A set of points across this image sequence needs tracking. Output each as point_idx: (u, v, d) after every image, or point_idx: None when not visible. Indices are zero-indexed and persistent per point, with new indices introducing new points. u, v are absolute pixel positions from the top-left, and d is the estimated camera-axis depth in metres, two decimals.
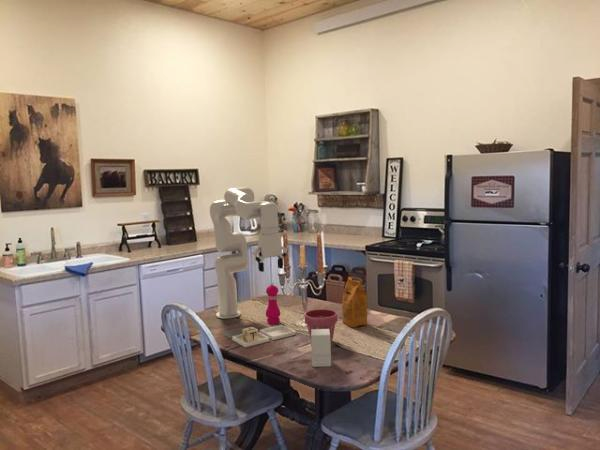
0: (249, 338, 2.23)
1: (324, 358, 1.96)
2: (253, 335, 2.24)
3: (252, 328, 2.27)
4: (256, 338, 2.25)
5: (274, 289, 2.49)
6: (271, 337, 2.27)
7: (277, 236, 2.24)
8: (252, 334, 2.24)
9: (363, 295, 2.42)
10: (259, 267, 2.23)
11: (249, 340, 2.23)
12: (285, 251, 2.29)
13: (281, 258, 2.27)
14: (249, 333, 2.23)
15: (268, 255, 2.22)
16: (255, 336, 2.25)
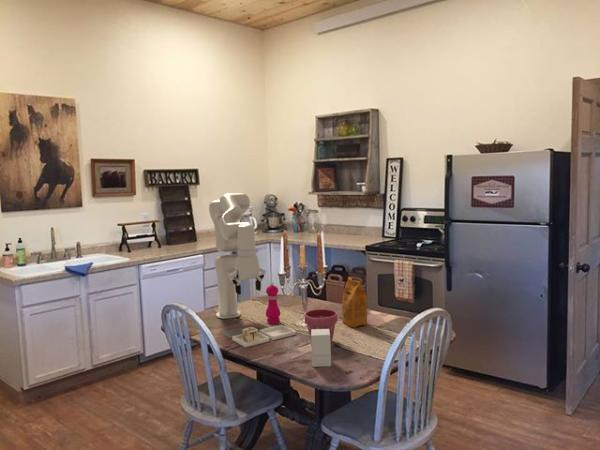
0: (249, 338, 2.23)
1: (324, 358, 1.96)
2: (253, 335, 2.24)
3: (252, 328, 2.27)
4: (256, 338, 2.25)
5: (274, 289, 2.49)
6: (271, 337, 2.27)
7: (254, 258, 2.22)
8: (252, 334, 2.24)
9: (363, 295, 2.42)
10: (236, 290, 2.21)
11: (249, 340, 2.23)
12: (263, 273, 2.27)
13: (259, 280, 2.25)
14: (249, 333, 2.23)
15: (245, 278, 2.20)
16: (255, 336, 2.25)
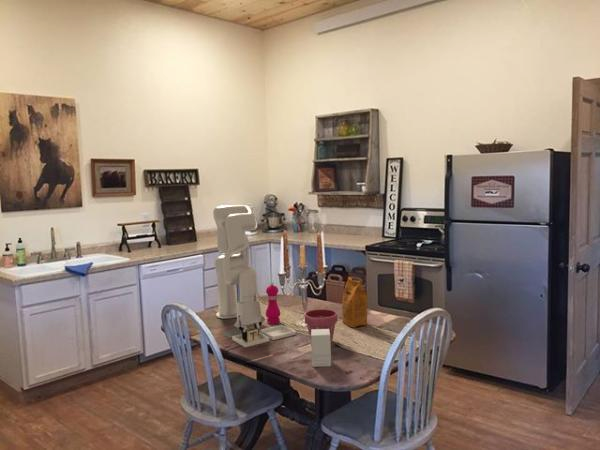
0: (249, 338, 2.23)
1: (324, 358, 1.96)
2: (253, 335, 2.24)
3: (252, 328, 2.27)
4: (256, 338, 2.25)
5: (274, 289, 2.49)
6: (271, 337, 2.27)
7: (256, 303, 2.24)
8: (252, 334, 2.24)
9: (363, 295, 2.42)
10: (242, 336, 2.24)
11: (249, 340, 2.23)
12: (262, 321, 2.28)
13: (257, 327, 2.26)
14: (249, 333, 2.23)
15: (247, 323, 2.23)
16: (255, 336, 2.25)
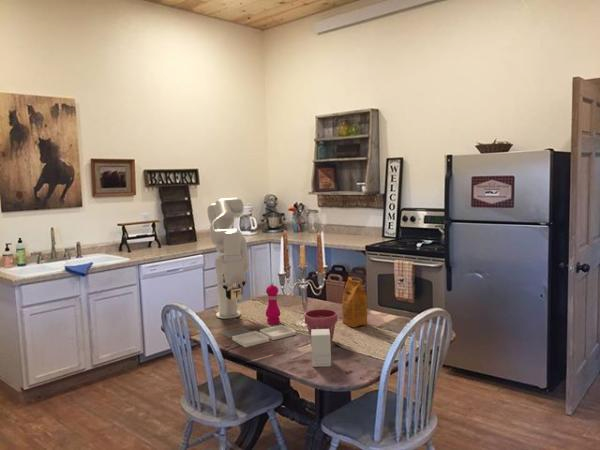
0: (233, 296, 2.33)
1: (324, 358, 1.96)
2: (236, 293, 2.34)
3: (236, 287, 2.37)
4: (239, 296, 2.35)
5: (274, 289, 2.49)
6: (271, 337, 2.27)
7: (240, 263, 2.34)
8: (236, 292, 2.34)
9: (363, 295, 2.42)
10: (226, 294, 2.34)
11: (233, 298, 2.33)
12: (245, 280, 2.38)
13: (240, 286, 2.36)
14: (232, 291, 2.33)
15: (231, 282, 2.32)
16: (238, 294, 2.34)
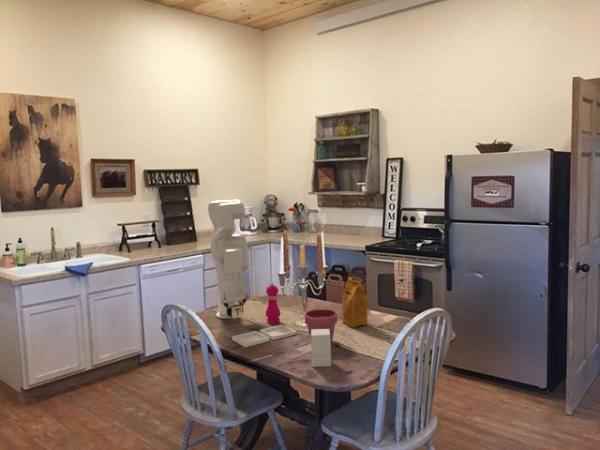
0: (234, 314, 2.34)
1: (324, 358, 1.96)
2: (237, 311, 2.34)
3: (237, 305, 2.37)
4: (240, 314, 2.36)
5: (274, 289, 2.49)
6: (271, 337, 2.27)
7: (240, 281, 2.35)
8: (237, 310, 2.34)
9: (363, 295, 2.42)
10: (227, 312, 2.35)
11: (234, 316, 2.34)
12: (246, 298, 2.39)
13: (241, 304, 2.37)
14: (233, 309, 2.33)
15: (232, 299, 2.33)
16: (239, 312, 2.35)
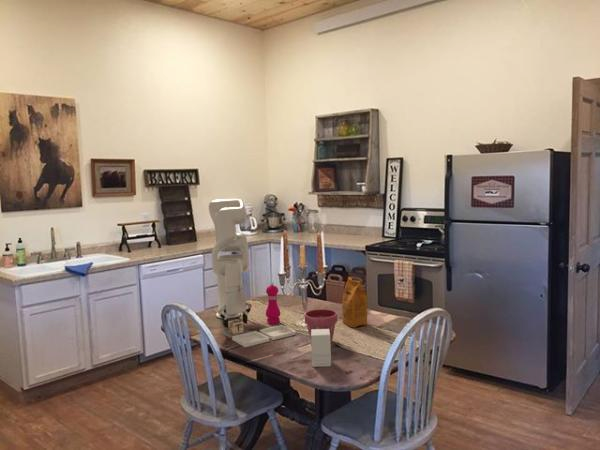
0: (234, 330, 2.35)
1: (324, 358, 1.96)
2: (238, 326, 2.36)
3: (237, 320, 2.39)
4: (241, 330, 2.37)
5: (274, 289, 2.49)
6: (271, 337, 2.27)
7: (241, 294, 2.35)
8: (237, 326, 2.35)
9: (363, 295, 2.42)
10: (224, 323, 2.34)
11: (234, 332, 2.35)
12: (249, 307, 2.41)
13: (245, 314, 2.39)
14: (234, 325, 2.35)
15: (232, 312, 2.34)
16: (240, 328, 2.36)
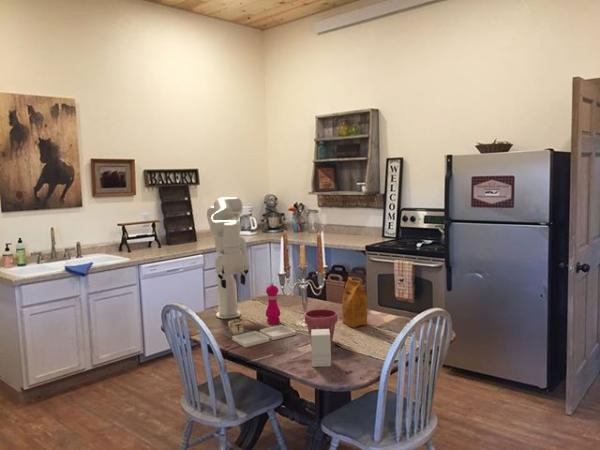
0: (234, 330, 2.35)
1: (324, 358, 1.96)
2: (238, 326, 2.36)
3: (237, 320, 2.39)
4: (241, 330, 2.37)
5: (274, 289, 2.49)
6: (271, 337, 2.27)
7: (239, 254, 2.36)
8: (237, 326, 2.35)
9: (363, 295, 2.42)
10: (222, 284, 2.35)
11: (234, 332, 2.35)
12: (247, 268, 2.41)
13: (243, 275, 2.39)
14: (234, 325, 2.35)
15: (230, 273, 2.34)
16: (240, 328, 2.36)
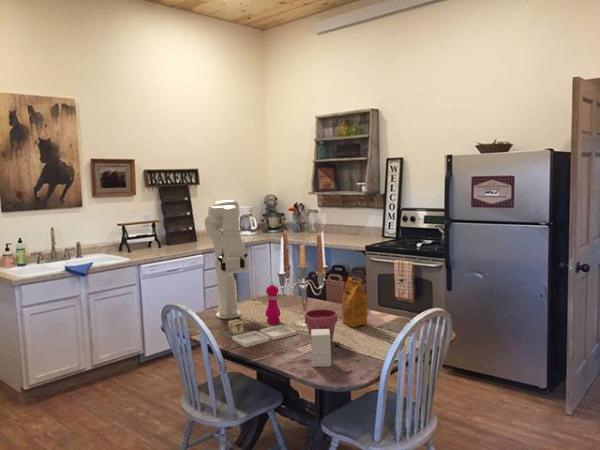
0: (234, 330, 2.35)
1: (324, 358, 1.96)
2: (238, 326, 2.36)
3: (237, 320, 2.39)
4: (241, 330, 2.37)
5: (274, 289, 2.49)
6: (271, 337, 2.27)
7: (238, 238, 2.41)
8: (237, 326, 2.35)
9: (363, 295, 2.42)
10: (221, 267, 2.40)
11: (234, 332, 2.35)
12: (246, 252, 2.46)
13: (242, 258, 2.45)
14: (234, 325, 2.35)
15: (230, 256, 2.40)
16: (240, 328, 2.36)
